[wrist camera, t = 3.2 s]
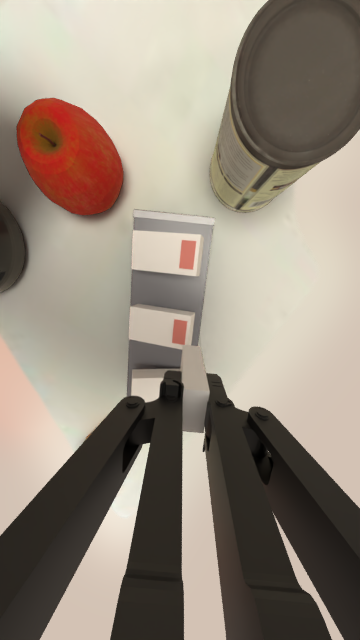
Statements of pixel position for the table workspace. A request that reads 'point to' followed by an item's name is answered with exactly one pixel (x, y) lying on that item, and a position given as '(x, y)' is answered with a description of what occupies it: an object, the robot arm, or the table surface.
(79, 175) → the apple
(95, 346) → the table surface
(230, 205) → the coffee can
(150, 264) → the block
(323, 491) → the robot arm
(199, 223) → the rocker switch panel
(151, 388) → the rocker
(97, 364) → the table surface
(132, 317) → the rocker
